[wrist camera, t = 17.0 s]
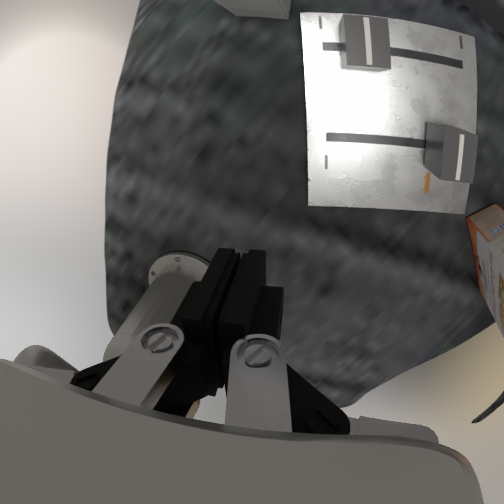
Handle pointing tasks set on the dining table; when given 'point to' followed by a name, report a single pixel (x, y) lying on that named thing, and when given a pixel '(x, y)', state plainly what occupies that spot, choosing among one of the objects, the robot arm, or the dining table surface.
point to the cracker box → (490, 257)
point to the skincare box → (258, 8)
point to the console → (385, 116)
